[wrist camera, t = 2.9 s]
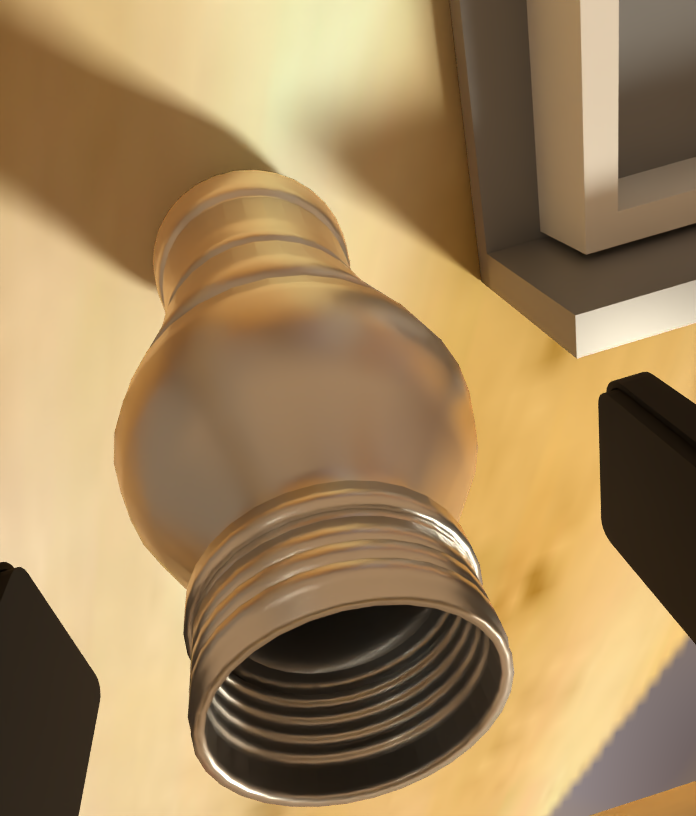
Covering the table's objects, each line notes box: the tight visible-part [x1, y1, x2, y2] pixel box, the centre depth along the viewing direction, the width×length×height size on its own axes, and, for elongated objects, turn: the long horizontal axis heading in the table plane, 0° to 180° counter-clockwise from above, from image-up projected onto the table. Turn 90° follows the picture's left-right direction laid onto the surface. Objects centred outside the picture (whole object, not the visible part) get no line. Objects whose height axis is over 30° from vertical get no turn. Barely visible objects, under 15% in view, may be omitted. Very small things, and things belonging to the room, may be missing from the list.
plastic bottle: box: [114, 170, 514, 807], centre depth 16 cm, size 6×7×20 cm
